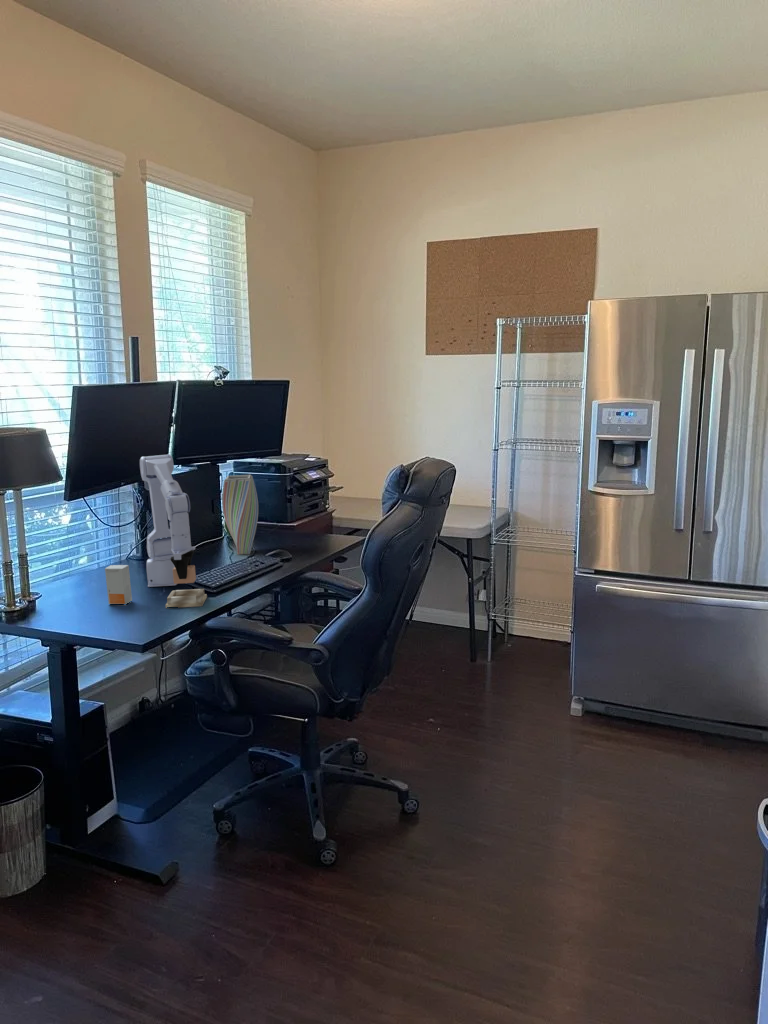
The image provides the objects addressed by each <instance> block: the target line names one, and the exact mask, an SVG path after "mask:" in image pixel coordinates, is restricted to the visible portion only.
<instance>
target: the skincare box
mask: <svg viewBox="0 0 768 1024" xmlns="http://www.w3.org/2000/svg"><path fill="white" fill-rule="evenodd" d="M129 566H130V565H128V564H110V565H109V566H107V567H105V568H104V573H105V583H106V592H107V601H108V602H107V604H108V605H109V604H127V603H129V602H130V601H132V602H133V596H132V586H131V575H130V567H129ZM130 603H131V602H130ZM130 603H129V604H130Z"/></svg>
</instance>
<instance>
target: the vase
mask: <svg viewBox="0 0 768 1024" xmlns="http://www.w3.org/2000/svg"><path fill="white" fill-rule="evenodd" d="M221 494H222V496H221V497H222V498H221V506H222V514H223V517H224V521H225V524H226V526H227V529H228V532H229V533H230V536H231V538H232V540H233V543H234V545H235V547H236V553H237V554H236V555H250V554H251V550H252V547H253V542H254V539H255V535H256V532H257V525H258V520H259V500H258V493H257V488H256V483H255V481H254V477H253V475H252V474H241V475H239V474H238V475H227V476H226V477H225V478H224V480H223V486H222V493H221Z"/></svg>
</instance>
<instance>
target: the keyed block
mask: <svg viewBox="0 0 768 1024" xmlns="http://www.w3.org/2000/svg"><path fill="white" fill-rule="evenodd" d="M173 580H174V584H177V585H178V584H194V583H195V581H196V580H197V575H196V565H195V564H190V565H188V567H187V578H186V579H179V577H178V574H177V571H176V568H175V567H174V568H173Z"/></svg>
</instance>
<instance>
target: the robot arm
mask: <svg viewBox="0 0 768 1024" xmlns="http://www.w3.org/2000/svg"><path fill="white" fill-rule="evenodd" d="M174 467H175V464H174V459H173V456H172V455H171V454H170V453H167V454H159V455H148V456H141V457H140V459H139V470H140V476H141V477H140V478H141V480H142V481H143V482H147V485H148V489H149V497H150V506H151V515H152V521H153V530H152V531H151V532H150V533H149V534H148V535H147V536H146V552H147V555H148V557H149V558H148V559H147V560H146V579H147V587H148V588H150V587H151V588H153V587H169V586H171V587H173V586H177V585H178V584H174V580H173V568H174V567H175V568H176V571H177V574H178V577H179V579H186V578H187V567H188V565H192V559H193V555H194V553H195V552H194V550H196V546H195V545H194V546H192V542H191V541H192V540H191V530H190V517H189V513H190V512H191V501H190V496H189V495H188V494H187V493H185V492H183V490H182V488H181V486H180V484H179V482H178V481H177V480H175V479H174V478H173V476H172V473H173V471H174ZM168 520H169V521H168Z"/></svg>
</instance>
